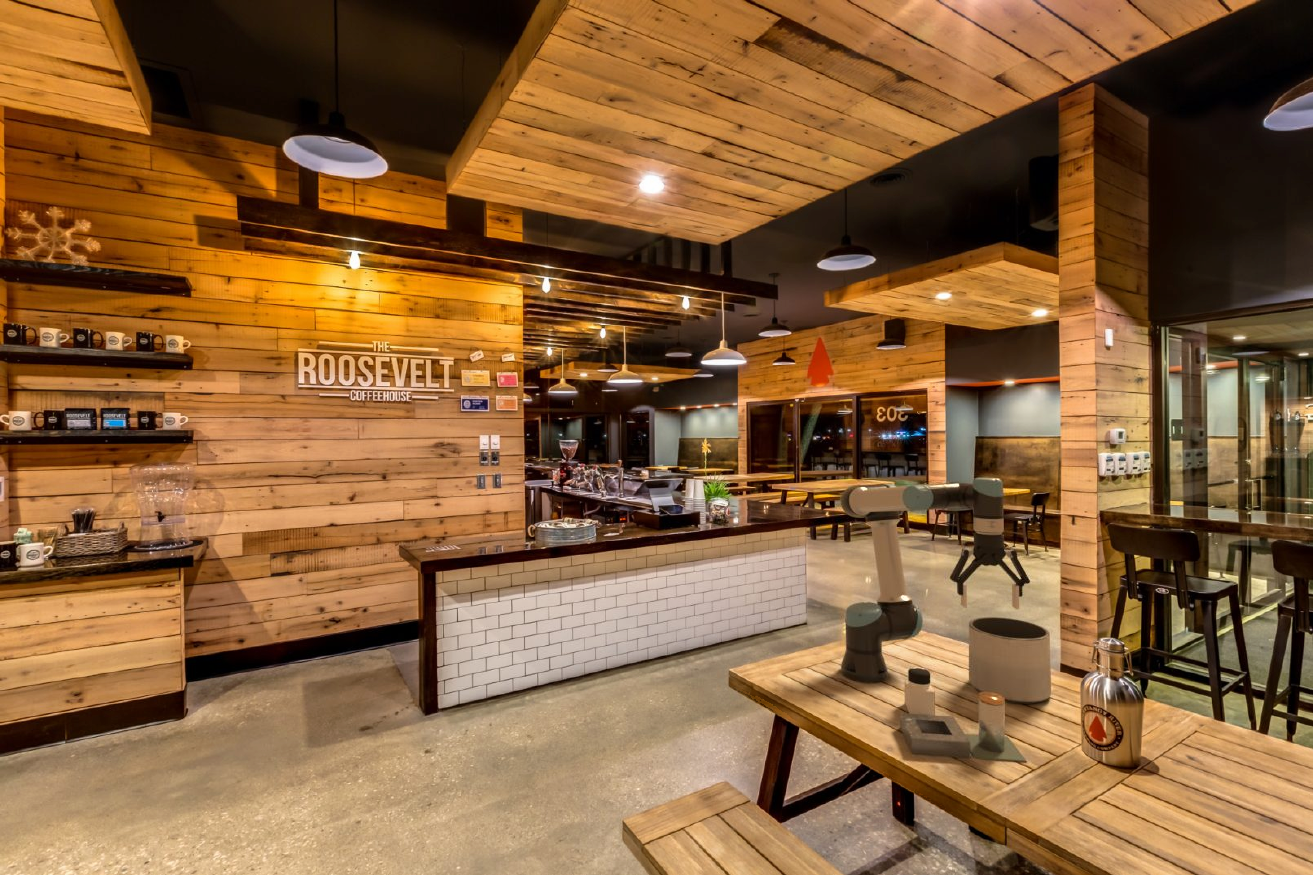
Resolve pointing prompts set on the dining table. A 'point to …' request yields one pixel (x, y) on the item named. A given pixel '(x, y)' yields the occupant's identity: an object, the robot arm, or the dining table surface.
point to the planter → (1010, 659)
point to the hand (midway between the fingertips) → (989, 607)
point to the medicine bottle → (919, 692)
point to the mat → (1007, 755)
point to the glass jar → (991, 721)
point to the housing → (934, 735)
